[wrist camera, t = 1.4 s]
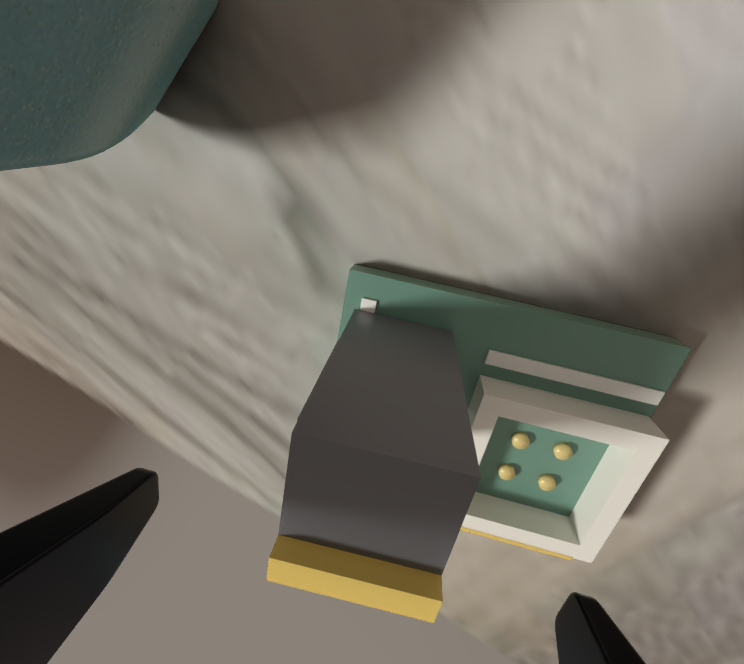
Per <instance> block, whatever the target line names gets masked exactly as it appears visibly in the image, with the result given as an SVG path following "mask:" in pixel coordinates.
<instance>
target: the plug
mask: <svg viewBox="0 0 744 664" xmlns="http://www.w3.org/2000/svg"><path fill="white" fill-rule="evenodd" d="M480 479H481V475H480V470H479V465H478V459H477V454H476V449H475V444H474V439H473V434H472V429H471V424H470V419H469V413H468V408H467V403H466V398H465V393H464V388H463V383H462V378H461V372H460V367H459V362H458V357H457V352H456V347H455V342H454V337H453V332H452V331H451V330H446V329H442V328H438V327H433V326H429V325H424V324H420V323H415V322H411V321H407V320H402V319H398V318H393V317H389V316H384V315H380V314H375V313H371V312H367V311H362V310H358V309H354V311H353V313H352V315H351V317H350V319H349V321H348V323H347V325H346V327H345V329H344V331H343V333H342V335H341V337H340V339H339V340H338V341H337V343H336V345H335V347H334V349H333V351H332V353H331V355H330V357H329V359H328V361H327V363H326V365H325V366H324V368H323V370H322V372H321V374H320V376H319V378H318V380H317V382H316V384H315V386H314V388H313V390H312V392H311V394H310V396H309V398H308V400H307V402H306V403H305V405H304V407H303V409H302V411H301V413H300V415H299V417H298V421H297V424H296V426H295V428H294V429H293V431H292V436H291V444H290V451H289V459H288V466H287V474H286V481H285V489H284V496H283V504H282V512H281V519H280V527H279V534H278V537H277V539H276V542H275V544H274V547H273V550H272V552H271V554H270V557H269V564H268V572H267V581H271V582H275V583H279V584H283V585H287V586H291V587H295V588H299V589H302V590H306V591H310V592H314V593H318V594H322V595H326V596H330V597H334V598H338V599H342V600H345V601H350V602H353V603H357V604H362V605H365V606H369V607H373V608H377V609H381V610H385V611H388V612H392V613H396V614H400V615H404V616H409V617H412V618H416V619H420V620H424V621H428V622H432V623H434V621H435V618H436V616H437V614H438V611H439V609H440V607H441V604H442V602H443V598H442V577H441V575H442V573H443V570H444V568H445V565H446V563H447V561H448V558H449V556H450V553H451V551H452V548H453V546H454V543H455V541H456V538H457V536H458V533H459V531H460V529H461V526H462V524H463V521H464V519H465V516H466V514H467V511H468V509H469V506H470V504H471V501H472V499H473V497H474V494H475V492H476V489H477V487H478V484H479V482H480Z"/></svg>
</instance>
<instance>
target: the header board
mask: <svg viewBox="0 0 744 664" xmlns="http://www.w3.org/2000/svg"><path fill="white" fill-rule="evenodd" d="M354 309H358V310H362V311H367V312H371V313H375V314H380V315H384V316H389V317H393V318H398V319H402V320H407V321H411V322H415V323H420V324H424V325H429V326H433V327H438V328H442V329H446V330H451V331H452V332H453V337H454V342H455V347H456V352H457V357H458V362H459V367H460V372H461V378H462V383H463V388H464V393H465V398H466V403H467V408H468V413H469V419H470V424H471V429H472V434H473V439H474V444H475V449H476V454H477V459H478V465H479V470H480V475H481V479H480V482H479V484H478V487H477V489H476V492H475V494H474V497H473V499H472V501H471V504H470V506H469V509H468V511H467V514H466V516H465V519H464V521H463V524H462V526H461V529H460V530H463V531H467V532H470V533H474V534H477V535H481V536H485V537H488V538H492V539H495V540H499V541H503V542H506V543H510V544H513V545H517V546H521V547H524V548H528V549H531V550H535V551H539V552H542V553H546V554H550V555H553V556H557V557H560V558H564V559H568V560H572V558H575V559H578V560H582V561H586V562H589V563H592V561H593V560H594V558H595V556H596V555H597V553H598V552H599V550H600V549H601V547H602V546H603V544H604V542H605V541H606V539H607V538H608V536H609V535H610V533H611V531H612V530H613V528H614V527H615V525H616V524H617V522H618V520H619V519H620V517H621V516H622V514H623V513H624V511H625V509H626V508H627V506H628V505H629V503H630V502H631V500H632V498H633V497H634V495H635V494H636V492H637V491H638V489H639V488H640V486H641V484H642V483H643V481H644V480H645V478H646V477H647V475H648V473H649V472H650V470H651V469H652V467H653V466H654V464H655V462H656V461H657V459H658V458H659V456H660V455H661V453H662V451H663V450H664V448H665V447H666V445H667V444H668V442H669V439H668V438H667V437H666V435H665V434H664V433H663V432H662V431H661V430H660V429H659V428H658V426H657V425H656V424H655V423H654V422H653V421H652V420H651V419H650V418H651V416H652V415H653V413H654V411H655V410H656V408H657V406H658V405H659V403H660V401H661V400H662V398H663V396H664V395H665V393H666V391H667V389H668V388H669V386H670V384H671V383H672V381H673V379H674V378H675V376H676V374H677V373H678V371H679V369H680V368H681V366H682V364H683V363H684V361H685V359H686V358H687V356H688V354H689V352H690V351H691V349H692V348H690V347H689V346H687V345H686V344H684V343H683V342H681V341H680V340H678V339H677V338H673V337H669V336H665V335H660V334H656V333H652V332H647V331H643V330H639V329H634V328H630V327H626V326H621V325H617V324H613V323H608V322H604V321H600V320H595V319H591V318H587V317H582V316H578V315H574V314H569V313H565V312H561V311H556V310H552V309H548V308H543V307H539V306H535V305H530V304H526V303H522V302H517V301H513V300H509V299H504V298H500V297H496V296H491V295H487V294H482V293H478V292H474V291H469V290H465V289H461V288H456V287H452V286H448V285H443V284H439V283H435V282H430V281H426V280H422V279H417V278H413V277H409V276H404V275H400V274H396V273H391V272H387V271H383V270H378V269H374V268H370V267H365V266H361V265H357V264H354V266H353V267H352V268H351V269H350V271H349V277H348V283H347V288H346V294H345V300H344V306H343V312H342V318H341V323H340V329H339V335H338V340H339V339H340V337H341V335H342V333H343V331H344V329H345V327H346V325H347V323H348V321H349V319H350V317H351V315H352V313H353V311H354Z"/></svg>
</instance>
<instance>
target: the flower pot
mask: <svg viewBox="0 0 744 664" xmlns="http://www.w3.org/2000/svg"><path fill="white" fill-rule="evenodd" d="M218 1H219V0H0V171H3V170H12V169H20V168H29V167H38V166H47V165H54V164H61V163H68V162H72V161H76V160H81V159H85V158H88V157H91V156H94V155H96V154H99V153H101V152H103V151H105V150H107V149H109V148H111V147H113V146H114V145H116V144H118V143H119V142H121V141H122V140H124V139H125V138H126V137H128V136H129V135H130V134H131V133H133V132H134V131H135V130H136V129H137V128H138V127H139V126H140V125H141V124H142V123H143V122H144V121H145V120H146V119H147V118H148V117H149V116H150V115H151V114H152V113H153V112H154V110H155V109H156V107H157V106H158V104H159V102H160V101H161V99H162V98H163V96H164V94H165V93H166V91H167V89H168V88H169V86H170V84H171V83H172V81H173V79H174V78H175V76H176V74H177V72H178V71H179V69H180V67H181V65H182V64H183V62H184V60H185V59H186V57H187V55H188V54H189V52H190V50H191V49H192V47H193V46H194V44H195V42H196V41H197V39H198V38H199V36H200V34H201V33H202V31H203V29H204V28H205V26H206V24H207V23H208V21H209V19H210V18H211V16H212V14H213V12H214V11H215V9H216V7H217V4H218Z"/></svg>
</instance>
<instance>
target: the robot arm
mask: <svg viewBox="0 0 744 664" xmlns="http://www.w3.org/2000/svg"><path fill="white" fill-rule="evenodd" d="M158 489H159V487H158V475H157V473H156V472H154V471H151V470H147V469H144V468H136V469H133V470H131V471H129V472H127V473H125V474H123V475H121V476H119V477H116V478H114V479H112V480H110V481H108V482H106V483H104V484H102V485H100V486H98V487H96V488H93V489H91V490H89V491H87V492H85V493H83V494H81V495H79V496H76V497H74V498H72V499H70V500H68V501H66V502H64V503H62V504H60V505H58V506H55V507H53V508H51V509H49V510H47V511H45V512H43V513H41V514H39V515H37V516H34V517H32V518H30V519H28V520H26V521H24V522H22V523H20V524H17V525H16V526H13V527H11V528H9V529H7V530H5V531H3V532H1V533H0V664H47V663H48V662H49V660H50V659H51V658H52V656H53V655H54V654H55V652H56V651H57V650H58V648H59V647H60V646H61V645H62V643H63V642H64V641H65V639H66V638H67V637H68V635H69V634H70V633H71V631H72V630H73V629H74V628H75V626H76V625H77V624H78V622H79V621H80V620H81V618H82V617H83V616H84V614H85V613H86V612H87V611H88V609H89V608H90V607H91V605H92V604H93V603H94V601H95V600H96V599H97V597H98V596H99V595H100V593H101V592H102V591H103V589H104V588H105V587H106V585H107V584H108V583H109V581H110V580H111V578H112V577H113V575H114V574H115V572H116V571H117V569H118V568H119V566H120V564H121V563H122V561H123V560H124V558H125V557H126V555H127V553H128V552H129V550H130V549H131V547H132V546H133V544H134V543H135V541H136V539H137V538H138V536H139V535H140V533H141V531H142V530H143V528H144V527H145V525H146V523H147V522H148V520H149V519H150V517H151V516H152V514H153V513H154V511H155V509H156V507H157V505H158V501H159V490H158ZM555 631H556V641H557V650H558V659H559V664H646V663H645V662H644V661H643V660H642V658H641V657H640V656H639V654H638V653H637V652H636V650H635V649H634V648H633V646H632V645H631V644H630V643H629V641H628V640H627V639H626V637H625V636H624V635H623V633H622V632H621V631H620V630H619V628H618V627H617V626H616V624H615V623H614V622H613V620H612V619H611V618H610V617H609V615H608V614H607V613H606V611H605V610H604V609H603V607H602V606H601V605H600V604H599V602H598V601H597V600H596V599H594V598H593V597H591V596H587V595H584V594H580V593H577V592H573V593H571V594H570V595H569V597H568V598H567V600H566V601H565V603H564V604H563V606H562V608H561V609H560V611H559V612H558V614H557V616H556V621H555Z"/></svg>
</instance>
